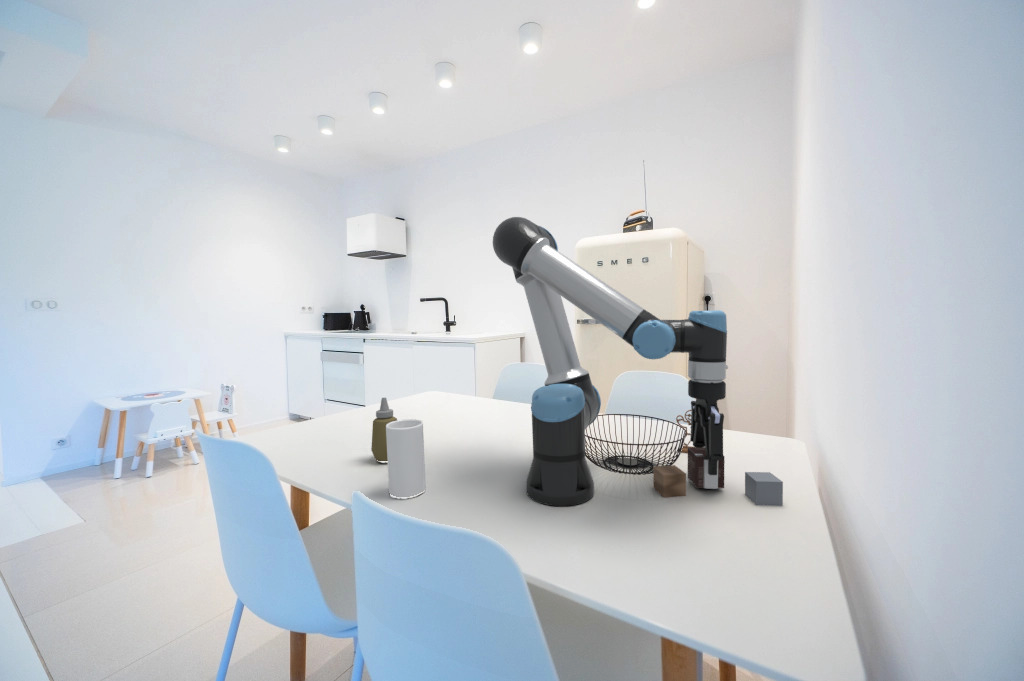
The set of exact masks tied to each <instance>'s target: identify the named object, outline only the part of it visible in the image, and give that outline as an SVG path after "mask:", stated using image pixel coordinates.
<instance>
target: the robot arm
mask: <svg viewBox="0 0 1024 681" xmlns="http://www.w3.org/2000/svg"><path fill="white" fill-rule="evenodd" d="M492 248H493V252H494V253H495V255H496V257H497V258H498V259H499V260H500V261H501V262H502V263H504V264H505V265H507V266H509V267H511V268H512V271H513V275H514V279H515V282H516V283H517V284H519V285H521V286H522V287H523V289H524V292H525V296H526V300H527V303H528V307H529V311H530V314H531V317H532V321H533V325H534V329H535V332H536V336H537V339H538V343H539V347H540V351H541V354H542V358H543V362H544V364H545V365H544V366H545V368H546V371H547V378H546V379H545V381H544V385H543V386H541V387H539V388H536V390H535V391H534V392H532V396H531V404H530V405H531V406H530V410H531V423H532V424H531V426H532V428H531V429H532V430H531V431H532V434H531V435H532V453H533V454H532V455H533V456H532V460H531V464H530V467H529V471H528V475H527V478H526V482H525V483H526V484H525V485H526V486H525V490H526V494H527V496H528V497H529V498H530V499H532V500H533V501H535V502H538V503H540V504H543V505H547V504H548V506H556V507H557V506H558V507H565V506H567V507H568V506H569V505H570V506H576V505H579V504H583V503H586V502H587V501H589V500H590V499H592V498H593V497H594V495H595V482H594V479H593V476H592V474H591V471H590V468H589V465H588V461H587V459H586V429H587V428H588V427H590V425H592V424H593V423H594V422H595V421H596V420H597V418H598V416H599V414H600V411H601V410H600V409H601V406H602V400H601V395H600V393H599V391H598V389H597V388H596V387H595V386H594V385H593V383H592V380H591V376H590V373H589V371H588V370H587V369H584V368H583V367H582V366H581V362H580V358H579V356H578V352H577V348H576V345H575V342H574V338H573V333H572V331H571V327H570V323H569V319H568V317H567V312H566V309H565V306H564V303H563V302H564V301H563V299H565V300H566V301H568V302H569V303H571V304H572V305H574V306H575V307H577V309H579V310H581V311H582V312H583V313H585V314H586V315H587V316H590V317H591V318H592V319H594V320H595V321H596V322H598V323H599V324H601V325H602V326H604V327H605V328H606V329H607V330H609V331H611V332H612V333H614V334H615V335H617V336H618V337H619V338H621V339H622V340H623V341H624V342H625V343H627V344H628V345H630V346H631V347H633V350H634V351H636V353H637V354H638V355H639V356H641V357H642V358H645V359H647V360H660V359H663V358H665V357H667V356H668V355H670V353H677V354H678V353H679V354H680V353H681V354H684V353H685V354H686V353H688V363H687V364H688V366H687V377H688V378H689V380H688V383H687V384H688V385H687V386H688V387H687V395H688V397H690V398H692V399H695V400H691V401H690V408H691V409H690V410H692V411H690V413H691V416H690V419H691V421H690V423H691V425H690V427H691V428H690V434H691V435H690V438H689V441H690V440H691V442H692V447H705V452H706V457H702V458H703V460H704V484H703V487H704V488H703V489H708V490H709V489H713V490H715V489H719V488H718V460H723V455H724V419H725V415H724V413H720V409H719V406H718V401H719V400H720V401H721V400H724V399H725V398H726V390H727V389H726V388H727V386H726V385H727V384H726V382H725V381H724V380H725V379H726V378H727V377H726V376H727V374H726V373H727V371H726V370H727V369H728V368H729V366H728V365H727V344H728V342H727V341H728V340H727V338H728V336H727V335H728V330H727V328H728V327H727V314H726V313H725V312H724V311H723V310H720V309H718V310H717V309H716V310H691V311H690V312H689V313H688V318H685V319H660V318H658V317H657V316H655V315H654V314H652V313H650V312H649V311H648V310H646V309H645V308H643V307H642V306H640V305H639V304H637V303H636V302H635V301H632V300H631V299H630V298H628V297H627V296H626V295H624V294H622V293H621V292H620V291H618V290H617V289H616V288H613V287H612V286H610V285H609V284H607V283H606V282H605V281H603V280H601V279H600V278H598V277H597V276H595V275H594V274H593V273H591V272H589V271H588V270H587V269H585V268H584V267H582V266H580V265H579V264H578V263H576V262H575V261H573V260H572V259H570V258H569V257H568V256H566V255H564V254H563V253H561V252H560V251H559V247H558V243H557V240H556V239H555V237H554V236H553V234H552V233H551V232H550V231H549V230H548V229H546V228H544V227H542V226H541V225H538V224H536V223H534V222H533V221H531V220H530V219H527V218H525V217H521V216H512V217H508V218H506V219H505V220H503V221H502V222H500V224H498V226H497V227H496V228H495V230H494V232H493V236H492ZM562 298H563V299H562ZM691 442H690V443H691Z"/></svg>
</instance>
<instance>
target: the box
mask: <svg viewBox="0 0 1024 681" xmlns="http://www.w3.org/2000/svg"><path fill="white" fill-rule="evenodd" d="M702 457H706V452H705V447H694V446H691V447H688V454H687V473H686V477H687V478H688V480H689V481H690V482H691V483H692V484H693V486H694V487H695V488H697V489H705V488H704V487H703V484H704V460H703V458H702ZM718 489H725V455H724V454H723V460H718Z"/></svg>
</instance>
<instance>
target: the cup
mask: <svg viewBox="0 0 1024 681" xmlns="http://www.w3.org/2000/svg"><path fill="white" fill-rule="evenodd" d="M424 436H425V435H424V422H423V421H422V420H420V419H413V418H411V419H409V418H408V419H406V418H405V419H400V420H399V419H397V421H393V422H390V423H388V424H387V425H386V439H387V459H388V463H387V473H388V474H387V476H388V477H387V478H388V494H389V493H390V494H391V495H393V496H396V497H410V496H414V495H417V494H419V493H421V492H423V491H424V490H425V488H426V489H427V485H426V484H427V482H426V464H425V462H426V460H425V441H424V440H425V439H424Z"/></svg>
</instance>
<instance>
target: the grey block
mask: <svg viewBox="0 0 1024 681" xmlns="http://www.w3.org/2000/svg"><path fill="white" fill-rule="evenodd" d="M783 485H784V481H782V480H781V479H780V478H778V477H777V476H776V475H774V474H773V473H771V471H768V472H767V471H766V472H765V471H760V472H759V471H745V472H744V495H745V497H747V498H748V499H749V500H750V501H751V502H752V503H753V504H755V505H756V506H771V507H774V506H775V507H777V506H778V507H781V506H784V505H783V504H784V503H783V502H784V501H783V500H784V496H783V495H784V492H783V491H784V486H783Z"/></svg>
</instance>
